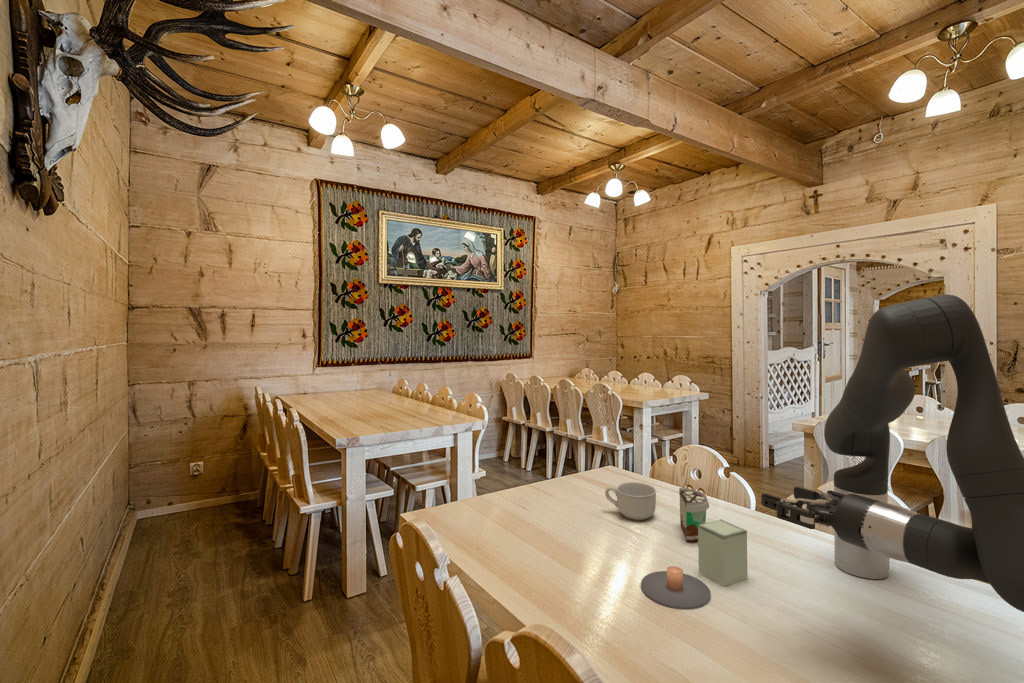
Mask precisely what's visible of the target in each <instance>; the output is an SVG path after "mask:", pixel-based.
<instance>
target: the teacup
mask: <svg viewBox="0 0 1024 683" xmlns="http://www.w3.org/2000/svg"><path fill="white" fill-rule="evenodd" d="M610 491H613V493H615V497H616V499H613V497H612V496H611V495H610ZM604 492H605V493H604V496H605V498H606V500H608V501H609V502H610V503H611V504H614V506H615V507H616V508H618V510H619V512H620V513H621V514H622V515H623V516H624V517H626V519H630V520H632V519H633V521H644V520H647V519H648V518H650V517H651V516H653V514H654V513H655V511H656V508H657V507H656V506H657V502H656V501H657V489H656V488H655V487H654V486H653V485H650V484H648V483H644V482H640V481H639V482H638V481H628V482H627V481H625V482H622V483H619V484H618V485H617V486H616V487H615V486H613V485H610V486H609V485H608V487H606V489H605V491H604Z"/></svg>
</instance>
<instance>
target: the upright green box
mask: <svg viewBox="0 0 1024 683" xmlns="http://www.w3.org/2000/svg"><path fill="white" fill-rule="evenodd" d="M697 544H698V545H697V547H698V550H697V551H698V572H699V573H700V574H702V575H704V576H705V577H707V578H709V579H711V580H712V581H714V582H716V583H717V584H719V585H721V586H723V587H726V586H729V585H733V584H736V583H740V582H742V581H746V580H748V530H746V529H744V528H742V527H739V526H737V525H736V524H733V523H730V522H728V521H725V520H723V519H716V520H712V521H709V522H705V523H704V524H700V525H698V542H697Z"/></svg>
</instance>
